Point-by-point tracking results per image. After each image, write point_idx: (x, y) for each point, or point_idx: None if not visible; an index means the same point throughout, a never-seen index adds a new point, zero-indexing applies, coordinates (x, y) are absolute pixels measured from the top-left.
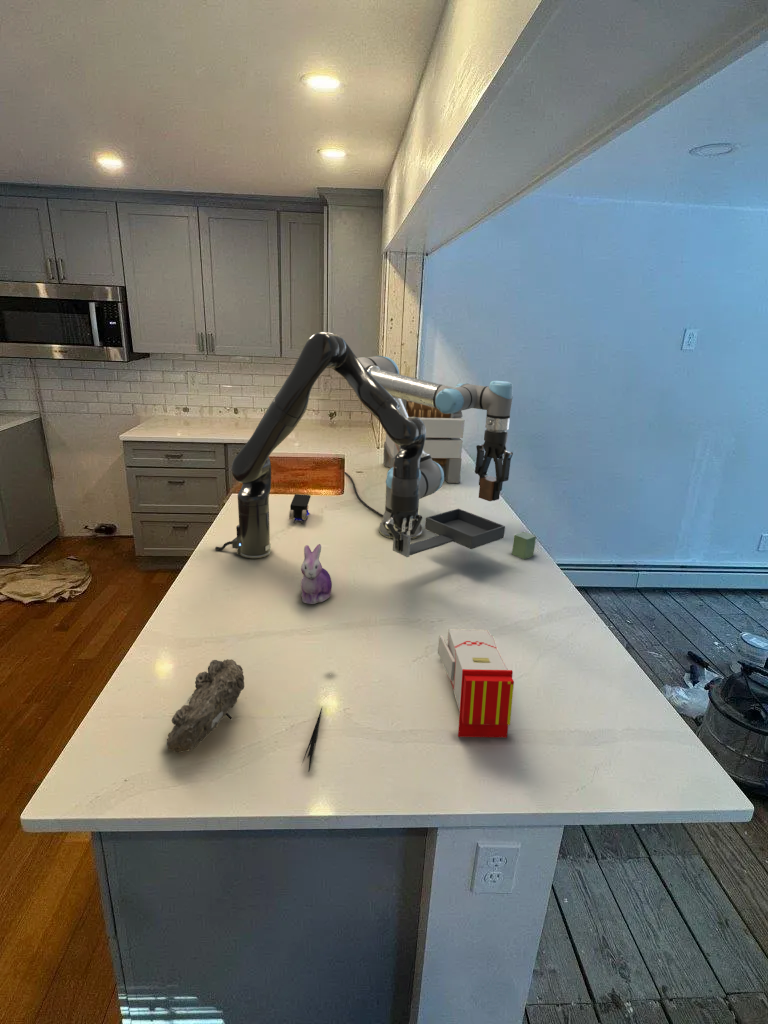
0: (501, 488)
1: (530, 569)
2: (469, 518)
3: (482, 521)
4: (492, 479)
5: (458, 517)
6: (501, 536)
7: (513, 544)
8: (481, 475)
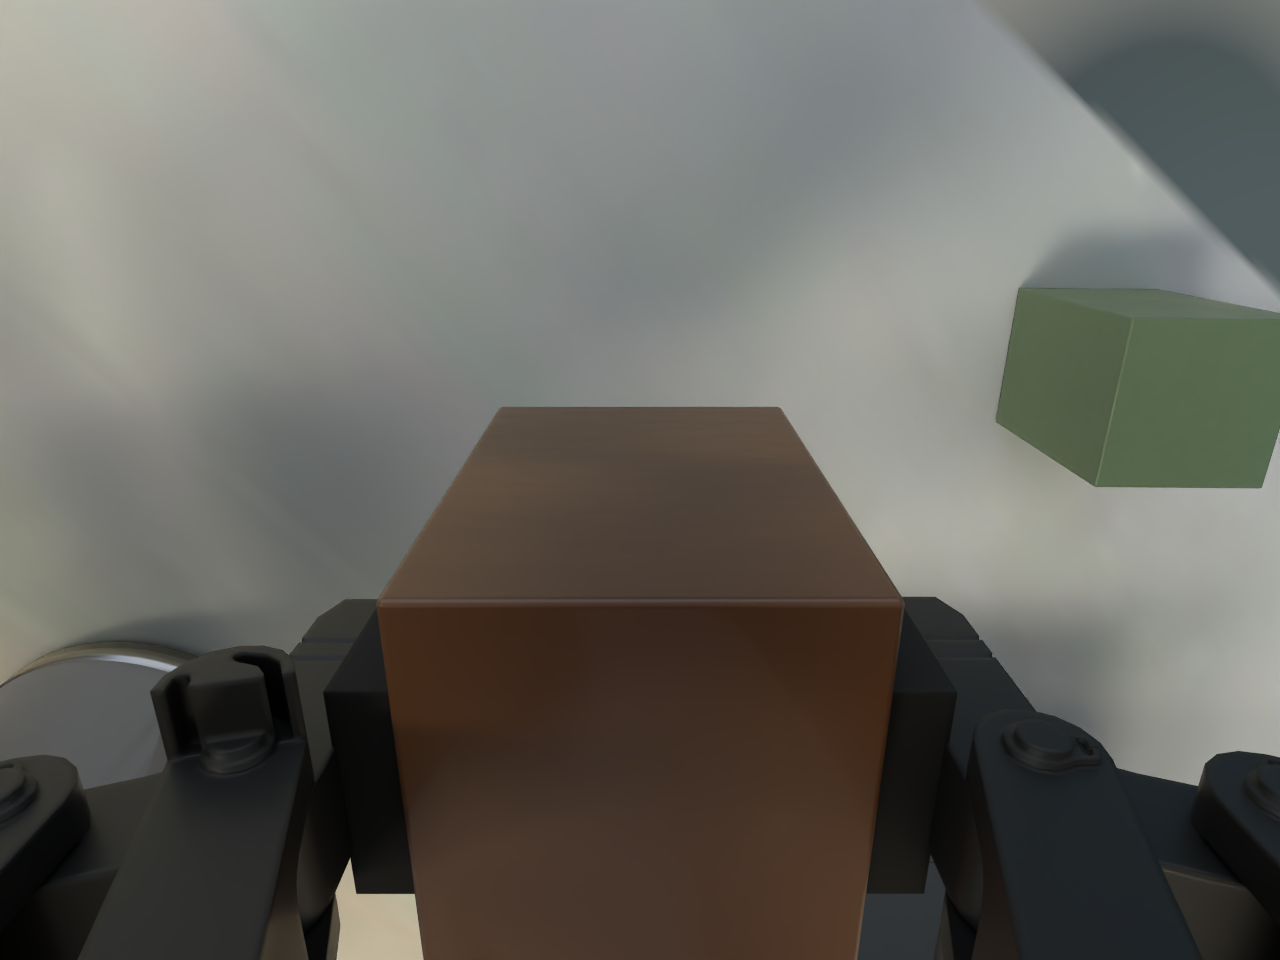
0: (971, 645)
1: (1242, 533)
2: None
3: None
4: (733, 848)
5: None
6: None
7: (1045, 452)
8: (333, 938)
